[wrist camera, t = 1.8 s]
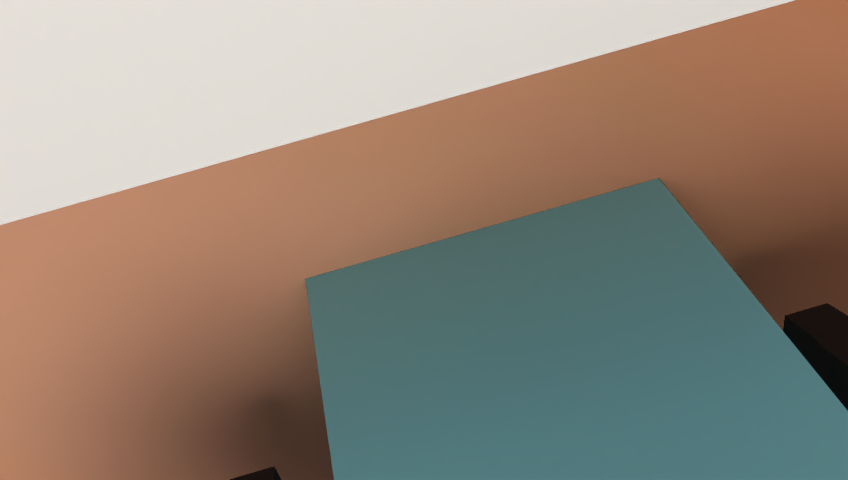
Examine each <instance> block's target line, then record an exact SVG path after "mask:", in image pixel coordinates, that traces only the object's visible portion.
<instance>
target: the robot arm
mask: <svg viewBox="0 0 848 480" xmlns="http://www.w3.org/2000/svg"><path fill="white" fill-rule="evenodd" d="M783 332H784V333H785V334H786V336H787V337H788V338H789V339H790V340H791V342H792V343H793V344H794V345H795V347H796V348H797V349H798V350H799V352H800V353H801V354H802V355H803V356H804V358H805V359H806V360H807V361H808V363H809V364H810V365H811V366H812V368H813V369H814V370H815V371H816V372H817V374H818V375H819V376H820V377H821V379H822V380H823V381H824V382H825V384H826V385H827V386H828V387H829V388H830V390H831V391H832V392H833V393H834V395H835V396H836V397H837V398H838V400H839V401H840V402H841V403H842V404H843V406H844V407H845V408H846V409H847V411H848V316H847V315H845V314H844V313H842V312H840V311H839V310H837V309H836V308H834V307H832V306H831V305H829V304H827V303H826V304H823V305H820V306H816V307H813V308H810V309H806V310H803V311H799V312H796V313H793V314H789V315H786V316H785V321H784V328H783ZM230 480H281V479H280V477H279V475H278V473H277V471H276V469H275V467H271V468H267V469H264V470H260V471H257V472H254V473H250V474H247V475H244V476H240V477H237V478H233V479H230Z"/></svg>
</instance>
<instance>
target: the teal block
mask: <svg viewBox="0 0 848 480" xmlns="http://www.w3.org/2000/svg"><path fill="white" fill-rule="evenodd" d="M305 281H306V288H307V295H308V302H309V309H310V316H311V323H312V330H313V337H314V344H315V351H316V358H317V365H318V372H319V379H320V386H321V393H322V400H323V407H324V414H325V421H326V428H327V435H328V442H329V449H330V456H331V463H332V470H333V477H334V480H848V411H847V409H846V408H845V407H844V406H843V404H842V403H841V402H840V401H839V400H838V398H837V397H836V396H835V395H834V393H833V392H832V391H831V390H830V388H829V387H828V386H827V385H826V384H825V382H824V381H823V380H822V379H821V377H820V376H819V375H818V374H817V372H816V371H815V370H814V369H813V368H812V366H811V365H810V364H809V363H808V361H807V360H806V359H805V358H804V356H803V355H802V354H801V353H800V352H799V350H798V349H797V348H796V347H795V345H794V344H793V343H792V342H791V340H790V339H789V338H788V337H787V336H786V334H785V333H784V332H783V331H782V329H781V328H780V327H779V326H778V324H777V323H776V322H775V321H774V320H773V318H772V317H771V316H770V315H769V313H768V312H767V311H766V310H765V308H764V307H763V306H762V305H761V304H760V302H759V301H758V300H757V299H756V297H755V296H754V295H753V294H752V292H751V291H750V290H749V289H748V288H747V286H746V285H745V284H744V283H743V281H742V280H741V279H740V278H739V276H738V275H737V274H736V273H735V272H734V270H733V269H732V268H731V267H730V265H729V264H728V263H727V262H726V260H725V259H724V258H723V257H722V256H721V254H720V253H719V252H718V251H717V249H716V248H715V247H714V246H713V244H712V243H711V242H710V241H709V240H708V238H707V237H706V236H705V235H704V233H703V232H702V231H701V230H700V228H699V227H698V226H697V225H696V224H695V222H694V221H693V220H692V219H691V217H690V216H689V215H688V214H687V212H686V211H685V210H684V209H683V208H682V206H681V205H680V204H679V203H678V201H677V200H676V199H675V198H674V196H673V195H672V194H671V193H670V192H669V190H668V189H667V188H666V187H665V185H664V184H663V183H662V182H661V180H660V179H659V178H658V179H654V180H651V181H647V182H644V183H640V184H637V185H633V186H629V187H626V188H622V189H619V190H615V191H612V192H608V193H605V194H601V195H598V196H594V197H591V198H587V199H584V200H580V201H577V202H573V203H570V204H566V205H563V206H559V207H556V208H552V209H549V210H545V211H542V212H538V213H535V214H531V215H528V216H524V217H521V218H517V219H514V220H510V221H507V222H503V223H500V224H496V225H493V226H489V227H486V228H482V229H479V230H475V231H472V232H468V233H464V234H461V235H457V236H454V237H450V238H447V239H443V240H440V241H436V242H433V243H429V244H426V245H422V246H419V247H415V248H412V249H408V250H405V251H401V252H398V253H394V254H391V255H387V256H384V257H380V258H377V259H373V260H370V261H366V262H363V263H359V264H356V265H352V266H349V267H345V268H342V269H338V270H335V271H331V272H328V273H324V274H321V275H317V276H314V277H310V278H307V279H305Z"/></svg>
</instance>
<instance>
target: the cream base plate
mask: <svg viewBox="0 0 848 480" xmlns="http://www.w3.org/2000/svg"><path fill="white" fill-rule="evenodd" d="M790 1H794V0H0V225H2V224H5V223H9V222H12V221H16V220H19V219H23V218H26V217H30V216H34V215H37V214H41V213H44V212H48V211H51V210H55V209H58V208H62V207H65V206H69V205H72V204H76V203H80V202H83V201H87V200H90V199H94V198H97V197H101V196H104V195H108V194H111V193H115V192H118V191H122V190H125V189H129V188H133V187H136V186H140V185H143V184H147V183H150V182H154V181H157V180H161V179H164V178H168V177H171V176H175V175H179V174H182V173H186V172H189V171H193V170H196V169H200V168H203V167H207V166H210V165H214V164H217V163H221V162H224V161H228V160H232V159H235V158H239V157H242V156H246V155H249V154H253V153H256V152H260V151H263V150H267V149H270V148H274V147H278V146H281V145H285V144H288V143H292V142H295V141H299V140H302V139H306V138H309V137H313V136H316V135H320V134H323V133H327V132H331V131H334V130H338V129H341V128H345V127H348V126H352V125H355V124H359V123H362V122H366V121H369V120H373V119H377V118H380V117H384V116H387V115H391V114H394V113H398V112H401V111H405V110H408V109H412V108H415V107H419V106H422V105H426V104H430V103H433V102H437V101H440V100H444V99H447V98H451V97H454V96H458V95H461V94H465V93H468V92H472V91H476V90H479V89H483V88H486V87H490V86H493V85H497V84H500V83H504V82H507V81H511V80H514V79H518V78H521V77H525V76H529V75H532V74H536V73H539V72H543V71H546V70H550V69H553V68H557V67H560V66H564V65H567V64H571V63H575V62H578V61H582V60H585V59H589V58H592V57H596V56H599V55H603V54H606V53H610V52H613V51H617V50H621V49H624V48H628V47H631V46H635V45H638V44H642V43H645V42H649V41H652V40H656V39H659V38H663V37H666V36H670V35H674V34H677V33H681V32H684V31H688V30H691V29H695V28H698V27H702V26H705V25H709V24H712V23H716V22H720V21H723V20H727V19H730V18H734V17H737V16H741V15H744V14H748V13H751V12H755V11H758V10H762V9H765V8H769V7H773V6H776V5H780V4H783V3H787V2H790Z"/></svg>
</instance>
